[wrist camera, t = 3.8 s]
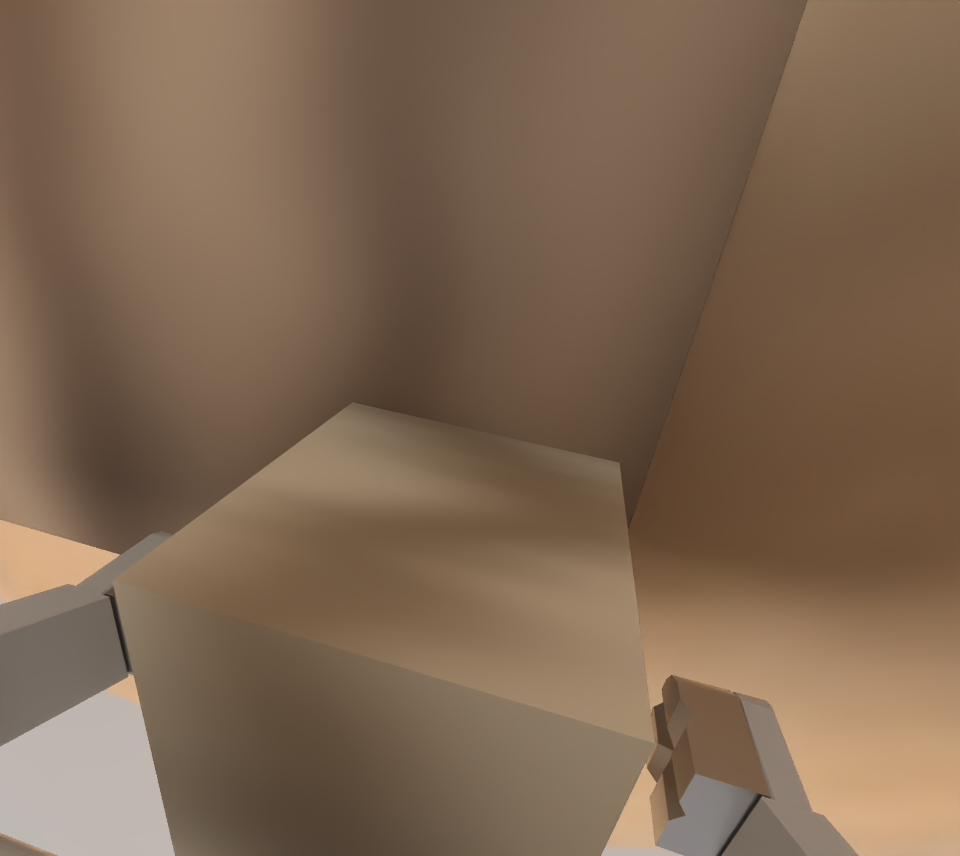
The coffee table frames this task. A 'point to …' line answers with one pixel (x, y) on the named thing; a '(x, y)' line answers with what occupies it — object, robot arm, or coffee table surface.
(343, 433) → the block
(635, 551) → the coffee table surface
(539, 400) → the board
